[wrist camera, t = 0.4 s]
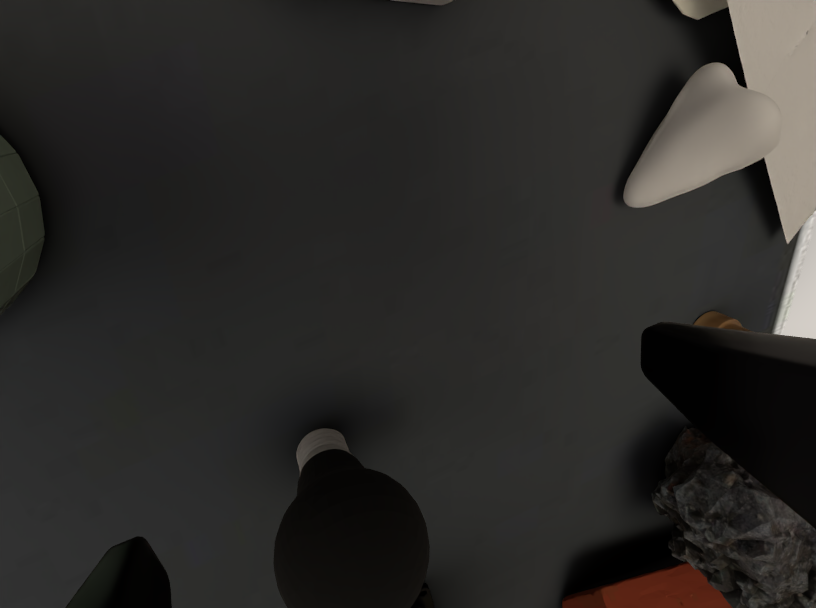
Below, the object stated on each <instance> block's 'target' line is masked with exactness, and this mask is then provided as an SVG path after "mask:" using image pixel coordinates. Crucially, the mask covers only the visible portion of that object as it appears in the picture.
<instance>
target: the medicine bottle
mask: <svg viewBox="0 0 816 608" xmlns="http://www.w3.org/2000/svg"><path fill="white" fill-rule="evenodd" d="M392 1H402V2H412V3H422V4H432V5H445V4H447V3H449V2H452V1H454V0H392Z"/></svg>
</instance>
